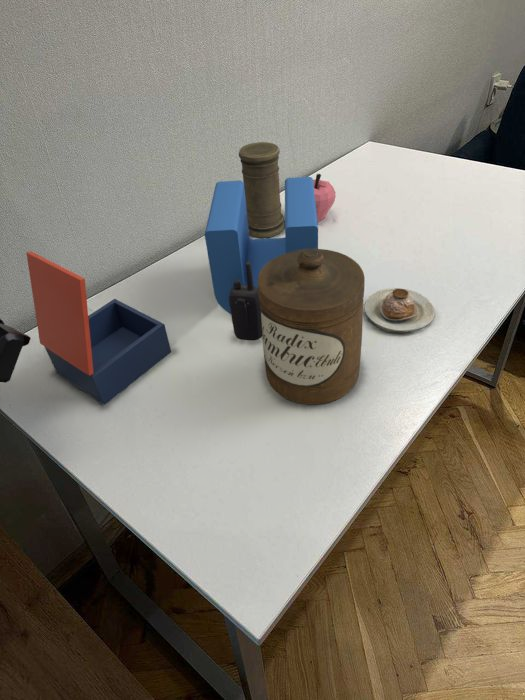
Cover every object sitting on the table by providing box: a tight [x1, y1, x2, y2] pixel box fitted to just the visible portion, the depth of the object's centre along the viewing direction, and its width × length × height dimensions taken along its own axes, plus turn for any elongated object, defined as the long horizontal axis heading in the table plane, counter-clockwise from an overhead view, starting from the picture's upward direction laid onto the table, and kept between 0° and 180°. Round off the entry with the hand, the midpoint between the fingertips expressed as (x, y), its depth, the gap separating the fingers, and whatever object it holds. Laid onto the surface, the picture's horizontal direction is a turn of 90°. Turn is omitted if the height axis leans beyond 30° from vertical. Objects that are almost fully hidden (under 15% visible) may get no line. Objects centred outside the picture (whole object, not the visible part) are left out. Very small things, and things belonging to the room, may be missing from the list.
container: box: [238, 141, 285, 239], centre depth 109 cm, size 9×9×18 cm
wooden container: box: [258, 248, 366, 405], centre depth 73 cm, size 15×15×22 cm
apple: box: [313, 173, 337, 222], centre depth 114 cm, size 10×9×10 cm
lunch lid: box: [26, 251, 94, 376], centre depth 73 cm, size 15×13×1 cm
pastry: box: [364, 287, 435, 334], centre depth 88 cm, size 12×12×5 cm
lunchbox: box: [44, 298, 172, 406], centre depth 83 cm, size 15×13×6 cm
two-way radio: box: [229, 262, 263, 342], centre depth 83 cm, size 6×4×15 cm
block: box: [204, 176, 319, 315], centre depth 92 cm, size 18×18×18 cm
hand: (28, 340), depth 71 cm, fingers closed
